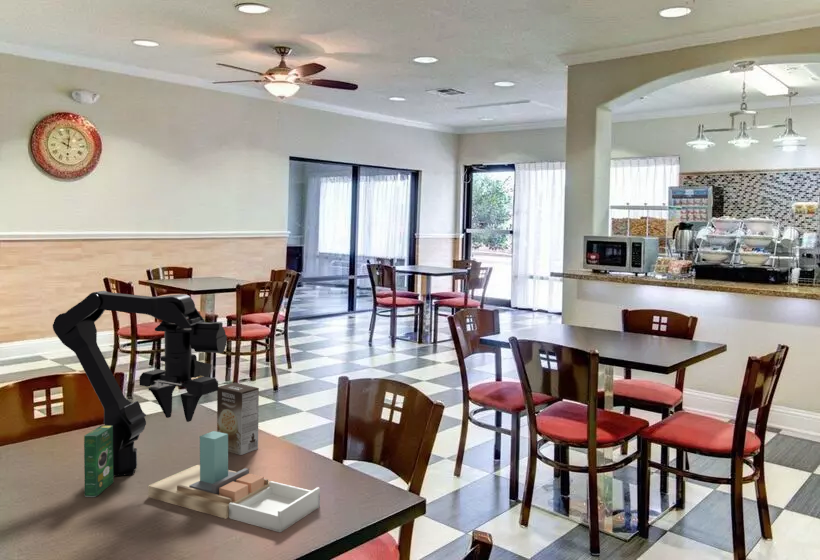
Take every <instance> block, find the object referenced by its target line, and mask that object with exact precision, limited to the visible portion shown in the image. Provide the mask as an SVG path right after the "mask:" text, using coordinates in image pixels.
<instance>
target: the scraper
mask: <svg viewBox="0 0 820 560" xmlns="http://www.w3.org/2000/svg"><path fill="white" fill-rule="evenodd" d="M199 465H200V481H198V482H196V483H194V484H192V485H189V487H190V488H194V489H198V490H202V491H206V492H210V493H213V494H217V495H219V488H220V487H222V486H224V485H226V484H228V483H230V482H233V481H234V482H236V480H237V479H239V478H241V477H243V476H245V475H247V474H250V473H249V470H250V469H249V468H247V467H244V468H243V469H240V470H238V471H235V472H236V473H234V472H230V471H228V470H229V451H228V434H226V433H221V432H217V430H213V431H210V432H207V433H204V434H202V435H199Z"/></svg>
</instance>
